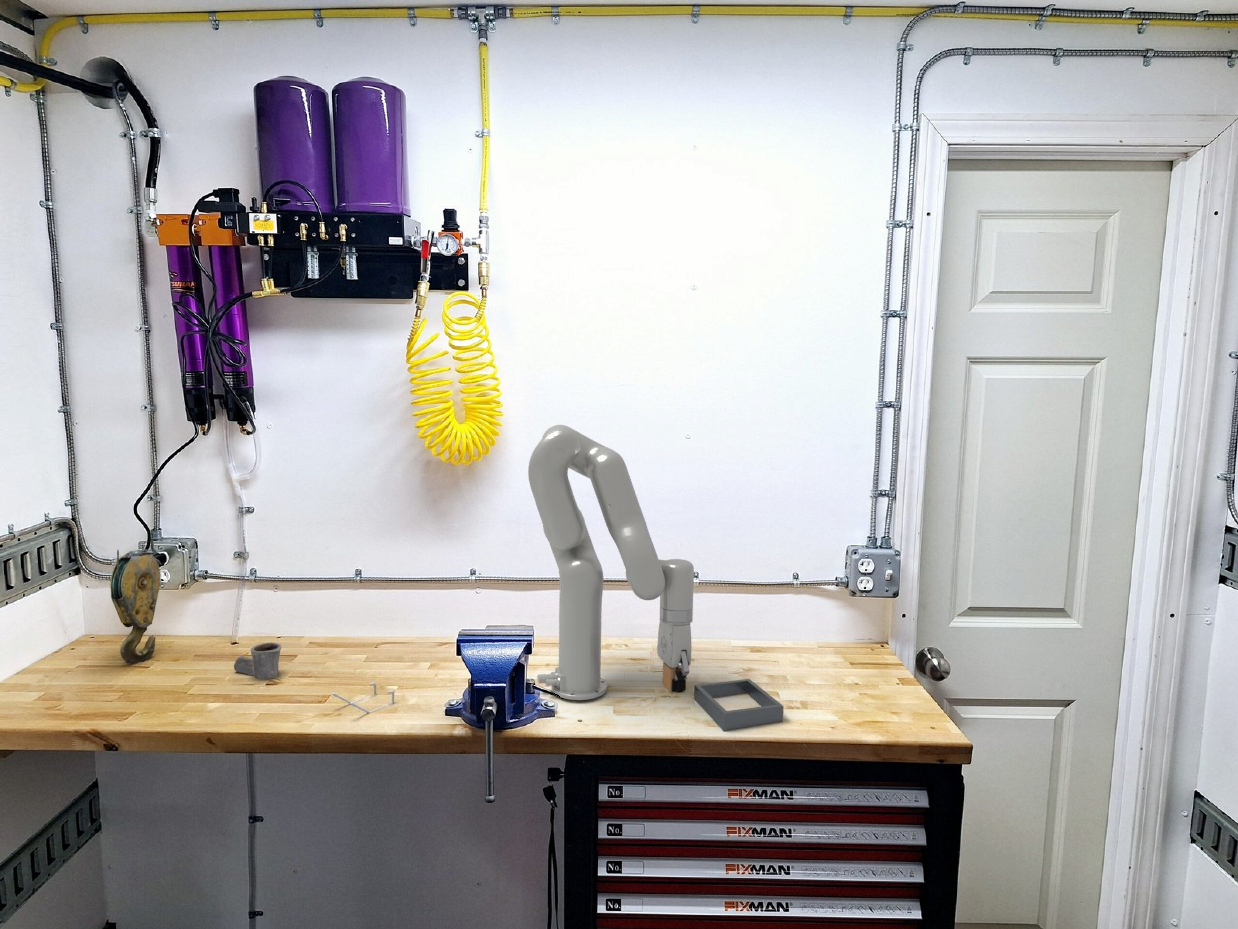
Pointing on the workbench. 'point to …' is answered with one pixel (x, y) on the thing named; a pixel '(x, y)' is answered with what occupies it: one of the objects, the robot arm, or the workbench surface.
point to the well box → (742, 717)
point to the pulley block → (136, 599)
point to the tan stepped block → (668, 676)
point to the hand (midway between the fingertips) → (674, 690)
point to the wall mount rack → (365, 698)
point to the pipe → (260, 661)
